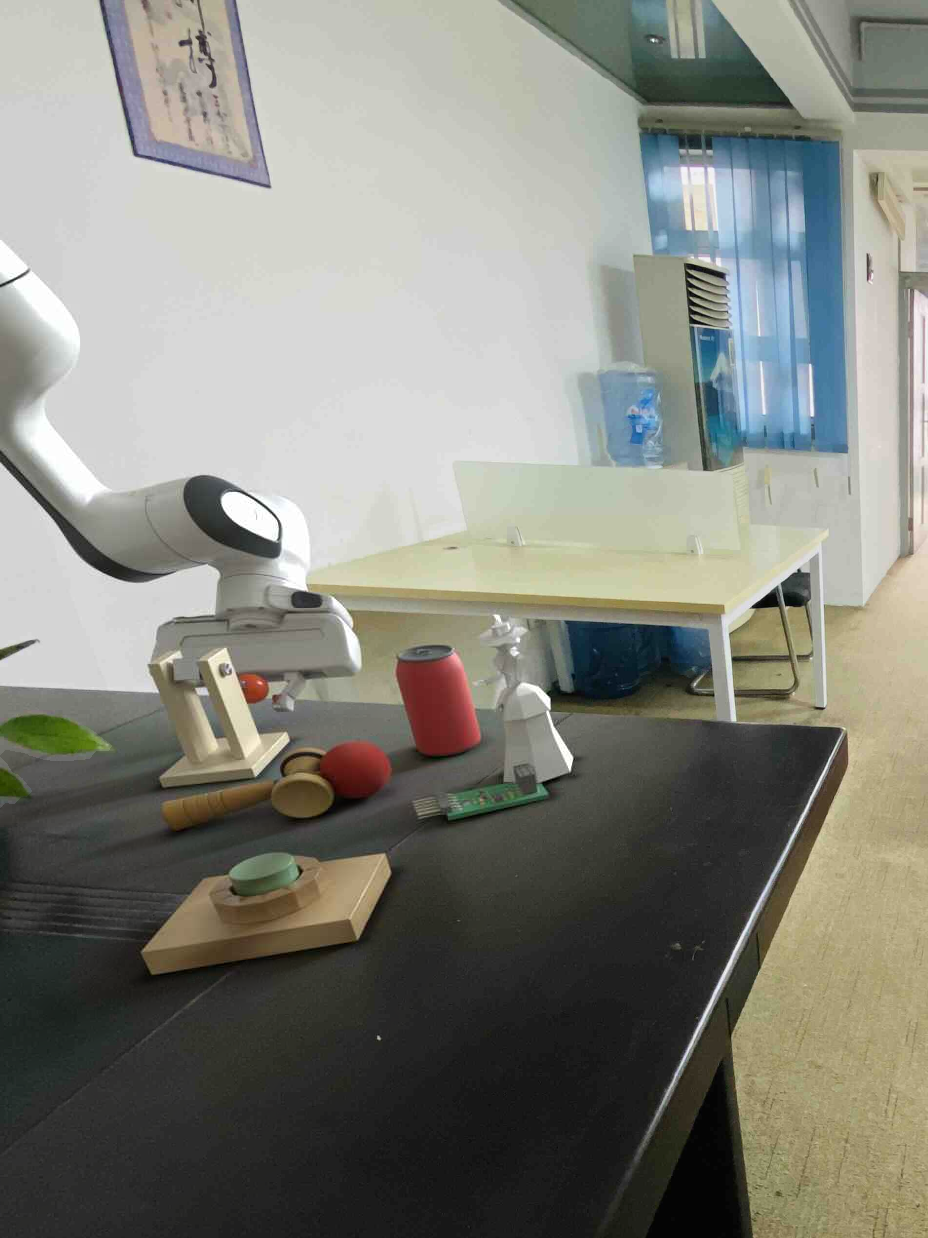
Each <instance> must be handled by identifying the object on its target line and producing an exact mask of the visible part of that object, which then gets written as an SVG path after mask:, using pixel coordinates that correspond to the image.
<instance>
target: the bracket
mask: <svg viewBox="0 0 928 1238" xmlns="http://www.w3.org/2000/svg"><path fill="white" fill-rule="evenodd" d="M179 658H183V657H182V655H181V652H180V651H168V652H167V653H165V654H163V655H162V656H160V657H159V658H157V659H155V660H154V661H152V662H150V661H149V663H147V664H146V665H147V667H148V671H149V670H150V672H151V675H152V676H151V675H150V676H151V677H152V679H153V682H154V685H155V686H156V689H157V691H158V693H159V696H160V698H161V701H162V703H163V706H164V707H165V710H166V713H167V716H168V717H169V720H170V722H171V724H172V727H173V729H174V731H175V734H176V736H177V738H178V739H177V740H178V741H179V744H180V746H181V749H182V751H183V753H184V755H183V757H180V759H179V760H177V761H176V762H175V763H174V764H172V766H171V767H170V768H168V769H167V770H166V771H165V772H164V773H163V774H162V775H160V776H159V777H158V780H159V782H160V784H161V786H162V788H171V787H181V786H189V785H190V786H191V785H198V784H210V783H219V782H228V781H237V780H246V779H255V778H256V777H258V776H259V774H260V773H261V772H262V771H263V770H264V769H265V768H266V767H267V766H268V765H269V764H270V763H271V761H272V760H273V759H274V758H276V756H277V755H278V754H279V753H280V752H281V751H282V750H283V748H285V747H286V745H288V744H289V742H290V737H289V734H288V732H287V731H283V732H271V733H261V734H259V732H258V729H257V726H256V724H255V721H254V718H253V716H252V714H251V711H250V708H249V704H247V703H246V700H245V697H244V695H243V692H242V689H241V687H240V684H239V681H238V679H237V676H236V673H235V671H234V668H233V665H232V663H231V660H230V657H229V655H228V652H227V649H226V648H215V649H213V650H212V651H210V652H209V653H207V654H206V655H205V656H203V657H202V658H200V659H199V660H197V661H196V663H197V665H198V668H199V670H200V673H201V675H202V678H203V680H204V683H205V685H206V687H205V688H206V690H207V692H208V695H209V698H210V700H211V703H212V706H213V708H214V710H215V713H216V716H217V718H218V721H219V723H220V726H221V728H222V731H223V733H224V736H225V737H219V738H216V737H215V734H214V732H213V729H212V727H211V725H210V722H209V719H208V716H207V715H206V711H205V709H204V707H203V705H202V703H201V700H200V697H199V695H198V692H197V690H196V689H197V688H195V687H194V685H191V686H190V685H187V684H183V683H180V682H176V681H174V673H173V661H172V659H179Z"/></svg>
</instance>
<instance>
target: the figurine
mask: <svg viewBox="0 0 928 1238" xmlns="http://www.w3.org/2000/svg"><path fill="white" fill-rule="evenodd" d="M527 632H529V630H528V629H527V628H525V627H524V626H519V627H515V624H513V626H512V627H510V624H509V621H504V622H503V621H502V619H501V616H500V614H492V618H491V622H490V629H488V630H486V631H485V632H483V633H482V634H480V635H479V636H477V642H478V644H479V646H480V647H491V648H495V649H496V650H497V651H498V652H496V655H495V657H494V658H493V660H492V664H493V665H494V666H495V667H496V671H497V672H499V673H498V674H496V675H494V676H491V677H489V678H486V679H484V680H482V679H478V680H477V681H473V682H471V684H473V685H474V686H476V687H479V686H483V685H486V686H489V685H492V684H494V683H496V682H498V681H501V680H502V679H504V680H505V685H506V687H505V688H504V689H502V690H501V691H500V693H499V696H498V699H497V701H496V704H495V708H494V710H493V712H492V717H493V716H494V715H495V714H496V713H497V712H498V711H499V710H501V716H502V723H503V729H504V735H505V744H504V745H505V746H504V762H503V763H504V764H503V765H504V766H503V783H508V782H516V780H515V774H514V768H513V766H517V765H522V764H528V765H529V766H530V768H531V769H532V771H533V772H534V774H535V779H536V783H540V782H541V783H543V782H546V781H548V780H552V779H555V778H557V777H560V776H563V775H566V774H569V773H571V771H572V765H573V761H574V756H573V755H572V753H571V751H570V749H568V747H567V745H566V743H565V742H564V740H563V739H562V738H561V736H560V734H559V732H558V731H557V729H556V728H555V726H554V723H553V720H552V717H551V714H550V711H551V698H550V696H548V695H547V694H546V693H545V692H544V690H542V689H541V688H540V687H539V686H538V685H534V684H529V683H526V682H522V676H523V670H524V667H525V666H524V665H525V659H526V657H525V656H524V655H522V654H521V653H520V652H519V651H517V650H518V648H517V647H516V646H518V645H519V643H520V642H521V638H520V637H522V636H523V635H524V634H526V633H527Z"/></svg>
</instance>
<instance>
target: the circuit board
mask: <svg viewBox="0 0 928 1238" xmlns="http://www.w3.org/2000/svg"><path fill="white" fill-rule="evenodd" d="M513 768H514V774H515V780H516V782H503V783H498V784H493V785H490V786H485V787H479V788H475V789H470V790H466V791H459V792H455V793H446V792H445V791H439V792H435V793H434V796H432V797H427V798H423V799H417V800H413V801H412V804H413V805H412V806H413V807H414V810H415V813H416V816H418V817H417V819H419V820H420V819H423V818H424V819H425V818H428V817H433V816H438V815H442V816H443V815H446V818H447V820H448V821H453V820H457V819H463V818H466V817H471V816H476V815H479V814H484V813H489V812H493V811H497V810H502V809H505V808H510V807H515V806H519V805H520V806H521V805H524V804H529V803H532V802H533V803H534V802H537V801H543V800H547V799H550V795H549V792H548V791H547V789H546V788H545V787H544V784H543V783H542V782H540V783H536V779H535V774H534V772H533V771H532V769H531V768H530V766H529V765H528V764H522V765H517V766H513Z"/></svg>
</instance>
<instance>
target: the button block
mask: <svg viewBox="0 0 928 1238" xmlns="http://www.w3.org/2000/svg"><path fill="white" fill-rule="evenodd" d="M292 856H293V858H294V861H295V863H296V866H297V868H298V871H299V874H300V876H299V879H298V880H296V881H294V882H293V883H291V884H289V885H288V886H286V887H284V888H281V889H278V890H275V891H273V892H270V893H267V894H263V895H256V896H250V897H243V896H238V895H237V894H236V892H235V889H234V887H233V884H232V882H231V880H230V877H229V874H226V875H224V874H223V875H218V876H211V877H204V878H202V880H201V881H200V882H199V883H198V884H197V885H196V887H195V888H194V889H193V890H192V892H190V894H189V895H188V896H187V897H186V898H185V900H184V901H182V903H181V904H180V905H179V907H178V908H177V909H176V910H175V911H174V912H173V914H172V915H171V916H170V917H169V918H168V920H167V921H166V922H165V923H164V924H163V925H162V926H161V928H160V929H159V930H158V931H157V932H156V934H155V935H154V936H153V937H152V938H151V939H150V940H149V942H148V943H147V944H146V945H145V947H144V948H143V949H142V950H141V951H140V955H141V957H142V959H143V961H144V962H145V965H146V966H147V969H148V970H149V973H150V974H151V975H152V976H155V975H161V974H166V973H168V974H169V973H172V972H180V971H185V970H190V969H197V968H203V967H208V966H214V965H221V964H226V963H233V962H238V961H245V960H250V959H257V958H263V957H268V956H274V955H280V954H286V953H292V952H298V951H304V950H310V949H316V948H321V947H322V948H323V947H328V946H333V945H334V946H335V945H340V944H346V943H347V944H348V943H352V942H357V941H359V939H360V937H361V935H362V933H363V931H364V929H365V926H366V925H367V922H368V921H369V919H370V917H371V915H372V912H373V911H374V909H375V907H376V905H377V903H378V901H379V899H380V897H381V895H382V893H383V891H384V889H385V887H386V886H387V883H388V881H389V879H390V877H391V875H392V871H391V868H390V864H389V861H388V858H387V855H386V853H375V854H370V855H369V854H368V855H363V856H362V855H361V856H355V857H348V858H340V859H333V860H326V861H319V860H318V859H317V858H316V857H309V856H304V855H292Z"/></svg>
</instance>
